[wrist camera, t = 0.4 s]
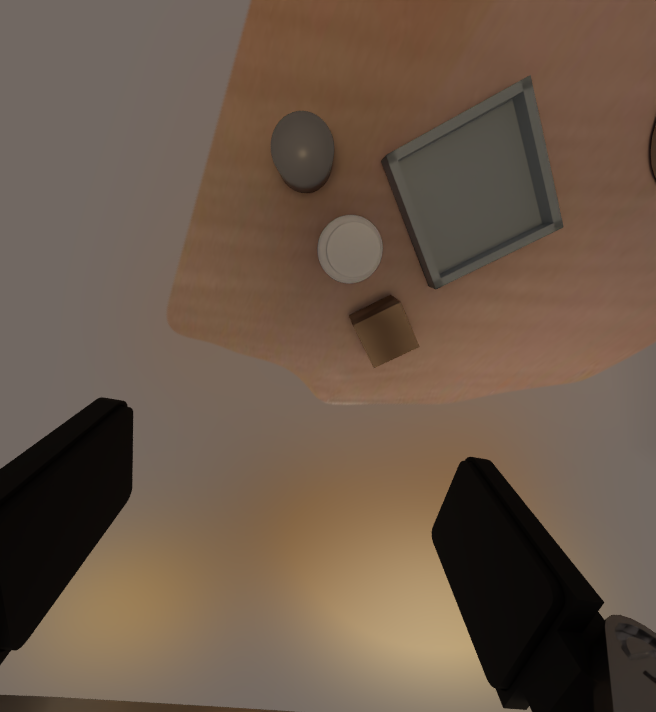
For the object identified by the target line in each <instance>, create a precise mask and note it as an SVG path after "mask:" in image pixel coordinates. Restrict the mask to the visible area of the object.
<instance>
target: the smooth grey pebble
mask: <svg viewBox="0 0 656 712" xmlns="http://www.w3.org/2000/svg"><path fill="white" fill-rule="evenodd" d="M271 154H272V158H273V161H274V164H275V166H276V168H277V169H278V171H279V173H280V175H281V176H282V178H283V180H284V181H285V183H286V184H287V185H288V186H289V187H290V188H292V189H293V190H295V191H297V192H301V193H310V192H314V191H316V190H318V189H319V188H321V187H322V186H323V185H324V184H325V183H326V181H327V179H328V177H329V175H330V172H331V167H332V162H333V157H334V141H333V137H332V134H331V132H330V130H329V128H328V126H327V125H326V123H325V122H324V121H323V120H322V119H321V118H320V117H318V116H317V115H315V114H313V113H311V112H307V111H296V112H292V113H290V114H288V115H286V116H285V117H283V118H282V119H281V120H280V121H279V123H278V124H277V126H276V127H275V129H274V132H273V135H272V139H271Z"/></svg>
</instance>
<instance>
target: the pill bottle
mask: <svg viewBox="0 0 656 712" xmlns="http://www.w3.org/2000/svg"><path fill="white" fill-rule="evenodd" d="M317 251H318V259H319V262H320V264H321V266H322V268H323V269H324V271H325V272H326V273H327V274H328V275H329V276H330V277H331V278H333V279H334V280H336V281H338V282H342V283H350V284H351V283H357V282H361V281H363V280H365V279H366V278H368V277H369V276H370V275H372V274H373V273H374V271H375V270H376V269H377V267H378V265H379V263H380V261H381V258H382V251H383V245H382V239H381V236H380V234H379V232H378V230H377V228H376V227H375V226H374V225H373V224H372V223H371V222H370V221H369V220H367V219H365V218H363V217H361V216H357V215H345V216H341V217H338V218H336V219H334V220H333V221H331V222H330V223H329V224H328V225H327V226H326V227H325V228H324V230H323V231H322V233H321V235H320V238H319V241H318V248H317Z"/></svg>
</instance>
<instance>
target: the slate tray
mask: <svg viewBox="0 0 656 712" xmlns="http://www.w3.org/2000/svg"><path fill="white" fill-rule="evenodd" d="M381 162H382V165H383V167H384V170H385V173H386V175H387V178H388V181H389V183H390V186H391V188H392V191H393V194H394V196H395V199H396V202H397V204H398V207H399V209H400V212H401V215H402V217H403V220H404V223H405V225H406V228H407V230H408V233H409V236H410V238H411V241H412V244H413V246H414V249H415V251H416V254H417V257H418V259H419V262H420V265H421V267H422V270H423V272H424V275H425V278H426V280H427V283H428V286H429V287H432V288H434V289H438V288H440V287H442V286H444V285H446V284H448V283H450V282H452V281H454V280H456V279H458V278H460V277H462V276H464V275H466V274H468V273H471V272H473V271H475V270H477V269H479V268H481V267H483V266H485V265H487V264H489V263H491V262H493V261H495V260H497V259H499V258H501V257H503V256H505V255H508V254H510V253H512V252H514V251H516V250H518V249H520V248H522V247H524V246H526V245H528V244H530V243H532V242H534V241H536V240H538V239H540V238H542V237H545V236H547V235H549V234H551V233H553V232H555V231H557V230H559V229H561V228H563V222H562V218H561V213H560V209H559V204H558V199H557V195H556V190H555V186H554V181H553V177H552V172H551V167H550V163H549V158H548V154H547V149H546V144H545V140H544V135H543V131H542V126H541V121H540V117H539V112H538V108H537V103H536V98H535V94H534V89H533V85H532V80H531V76H528V77H526V78H524V79H522V80H521V81H519V82H517V83H515V84H513V85H512V86H510V87H508V88H506V89H504V90H503V91H501V92H499V93H497V94H495V95H494V96H492V97H490V98H488V99H486V100H485V101H483V102H481V103H479V104H477V105H476V106H474V107H472V108H470V109H468V110H467V111H465V112H463V113H461V114H459V115H458V116H456V117H454V118H452V119H450V120H448V121H447V122H445V123H443V124H441V125H439V126H438V127H436V128H434V129H432V130H430V131H429V132H427V133H425V134H423V135H421V136H420V137H418V138H416V139H414V140H412V141H411V142H409V143H407V144H405V145H403V146H402V147H400V148H398V149H396V150H394V151H393V152H391V153H389V154H387V155H386V156H385V157H384V158H383V159H382V161H381Z"/></svg>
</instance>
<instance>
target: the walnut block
mask: <svg viewBox="0 0 656 712" xmlns="http://www.w3.org/2000/svg"><path fill="white" fill-rule="evenodd" d="M349 317H350V319H351V322H352V324H353V326H354V328H355V330H356V333H357V335H358V337H359V339H360V341H361V343H362V345H363V347H364V349H365V351H366V353H367V355H368V357H369V359H370V361H371V363H372V365H373V367H374V368H375V367H377V366H379V365H381V364H384V363H386V362H388V361H390V360H392V359H394V358H396V357H399V356H401V355H403V354H405V353H407V352H409V351H411V350H414V349H416V348H418V347H419V344H418V342H417V340H416V337H415V335H414V333H413V330H412V328H411V325H410V323H409V321H408V318H407V316H406V313H405V311H404V309H403V306H402V304H401V302H400V301H398V300H397V299H396V298H394V297H393V296H392V295H389V296H387V297H385V298H383V299H381V300H379V301H377V302H375V303H373V304H371V305H369V306H367V307H365V308H363V309H361V310H359V311H357V312H355V313H353V314H351V315H349Z"/></svg>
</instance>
